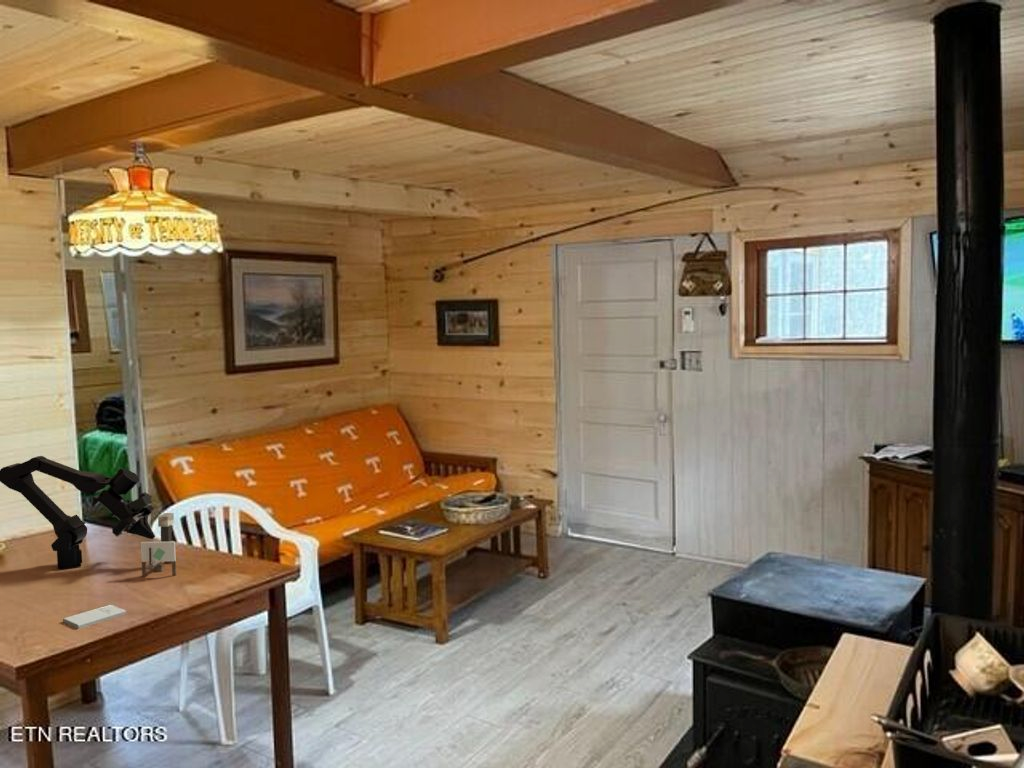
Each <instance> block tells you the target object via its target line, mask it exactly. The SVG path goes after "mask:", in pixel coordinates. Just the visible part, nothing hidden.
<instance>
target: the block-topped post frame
mask: <svg viewBox="0 0 1024 768" xmlns="http://www.w3.org/2000/svg"><path fill="white" fill-rule="evenodd" d="M174 517H175V516H174V513H173V512H163V513H162V514H159V516H157V522H158V523H157V527H158V528H160V542H173V541H172V538H173V537H172V525H173V524H175V522H174V521H175V520H174V519H175V518H174ZM158 564H161V562H151V548H149V563H148V564H147V565H146V570H148V571H153V570H154V567H155V566H156V565H158Z"/></svg>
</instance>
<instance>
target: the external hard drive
mask: <svg viewBox="0 0 1024 768" xmlns="http://www.w3.org/2000/svg"><path fill="white" fill-rule="evenodd" d="M124 615H127V611H126V609H123V608H121V607H119V606H116V605H113V604H109V605H105V606H102V607H98V608H95V609H92V610H87V611H84V612H80V613H77V614H74V615H71V616H67V617H64V618H62V622H63V623H64V624H66V625H69V626H70V627H73V628H76V629H78V630H81V629H83V628H86V627H90V626H93V625H95V624H96V625H97V624H98V623H99V624H100V623H102V622H105V621H108V620H111V619H114V618H118V617H121V616H124Z"/></svg>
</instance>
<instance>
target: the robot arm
mask: <svg viewBox="0 0 1024 768" xmlns="http://www.w3.org/2000/svg"><path fill="white" fill-rule="evenodd" d="M34 472H40V473H42V474H46V475H48V476H49V477H53V478H55V479H58V480H61V481H64V482H67V483H69V484H71V485H72V486H74V487H75V489H76V490H78V491H79V492H81V493H83V494H85V495H87V496H88V495H89V496H91V495H94V494H96V493H99V494H98V495H95V496H92V503H91V505H92V507H95V506H97V505H99V504H100V505H102V506H103V507H104V508H106V510H107V511H109V512H110V514H109V516H110V517H111V518H114V517H115V518H117V520H118V522H117V523H116V524H115V525H114V526H113V527H112V530H111V531H112V534H113V535H114V536H116V537H120V536H121V535H122V534H123V531H125V529H126V528H127V529H128V530H127V531H126V534H132V535H134V536H135V535H136V536H139V537H143V538H147V539H149V540H153V539H155V538H156V535H155V533H154V531H153V529H152V528H151V526H150V523H149V521H148V520H149V519H148V518H149V517H150V515H151V514H152V513H153V512H154V510H155V507H153V506H152V505H151V504H152V503H153V501H152V498H153V496H152V495H150V494H149V493H147V492H146V491H144V492H141V493H140V494H139V495H138V498H136V499H135V500H133V499H131V498H128V499H126V498H125V497H124V496H123V495H128V494H129V492H131V491H132V489H134V487H135V486H136V485H137V484H139V482H140V478H139V476H138V474H137V473H136V472H133V471H130V470H129V469H126V468H125V467H121V468H119V470H118V471H117V472H116V474H114V476H113V477H111V476H110V477H109V476H105V475H104V474H102V473H100V472H95V471H85V470H79V469H77V468H73V467H70V466H68V465H65V464H62V463H59V462H58V461H55V460H52V459H49V458H47V457H45V456H44V455H38V456H35V457H34V456H33V457H32V458H30V459H29V460H26V461H24V462H16V463H13V464H9V465H7V466H4V467H1V469H0V483H2V484H3V485H4V486H5V487H7V488H8V489H10V490H13V491H15V492H18V493H20V494H21V495H22V496H23V497H24V498H25V499H26V500H27V501H28V502H29V503H30V504H31V505H32V506H33V507H34V508H35V509H36V510H37V511H38V512H39V513H40V514H41V515H42V516H43V517H44V518H45V519H46V520H47V521H48V522H49V523H50V524H51V525H52V527H53V530H54V534H55V535H56V537H57V538H56V539H55V540H54V541H53V543H51V549H52V551H53V552H56V559H57V560H56V562H57V563H56V569H57V570H58V571H60V570H61V571H62V570H66V569H74V568H80V567H82V564H83V553H82V548H80V545H81V544H82V543H83V541H84V539H85V538H86V537H87V534H88V527H87V525H86V523H87V522H86V521H85V522H84V521H83V520H82V519H81V517H79V515H78V514H74V515H72V516H70V515H68V514H67V513H65V511H63V510H62V509H61V507H60V506H58V505H57V504H56V503H55V502H54V501H53V499H51V498H50V497H49V496H48V495H47V494H46V493H45V492H44V491H43V490H42V489H41V488H40V487H39V486H38V485H37V484H36V483H35V480H34V476H33V474H32V473H34ZM108 487H109V488H108ZM106 488H107V489H106Z"/></svg>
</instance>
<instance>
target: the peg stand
mask: <svg viewBox="0 0 1024 768" xmlns="http://www.w3.org/2000/svg"><path fill="white" fill-rule="evenodd" d="M164 564H171V575H172V576H173V577H176V576H177V562H176V561H164V562H160V563H159V564H158V565H156V566H155V567H154V568H153V572H163V571H164V570H165V568H164V567H165V566H164ZM141 574H142V576H141V577H147V562H142V561H141Z"/></svg>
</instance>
